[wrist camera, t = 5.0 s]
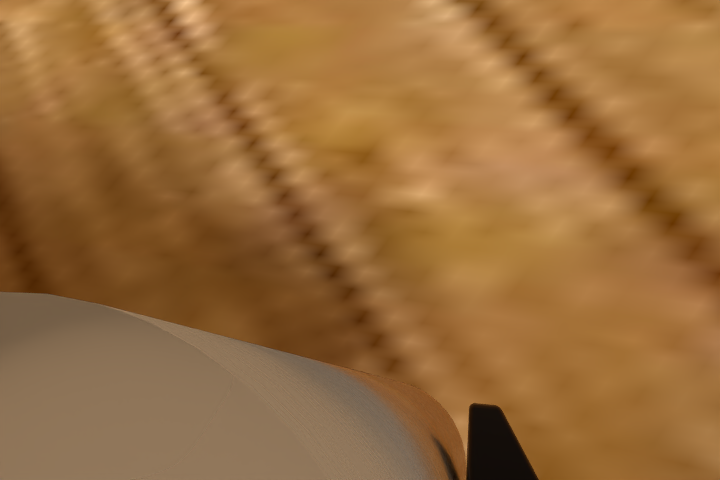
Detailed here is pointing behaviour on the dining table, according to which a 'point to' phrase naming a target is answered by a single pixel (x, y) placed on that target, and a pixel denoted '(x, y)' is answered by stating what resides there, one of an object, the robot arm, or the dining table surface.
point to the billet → (197, 405)
